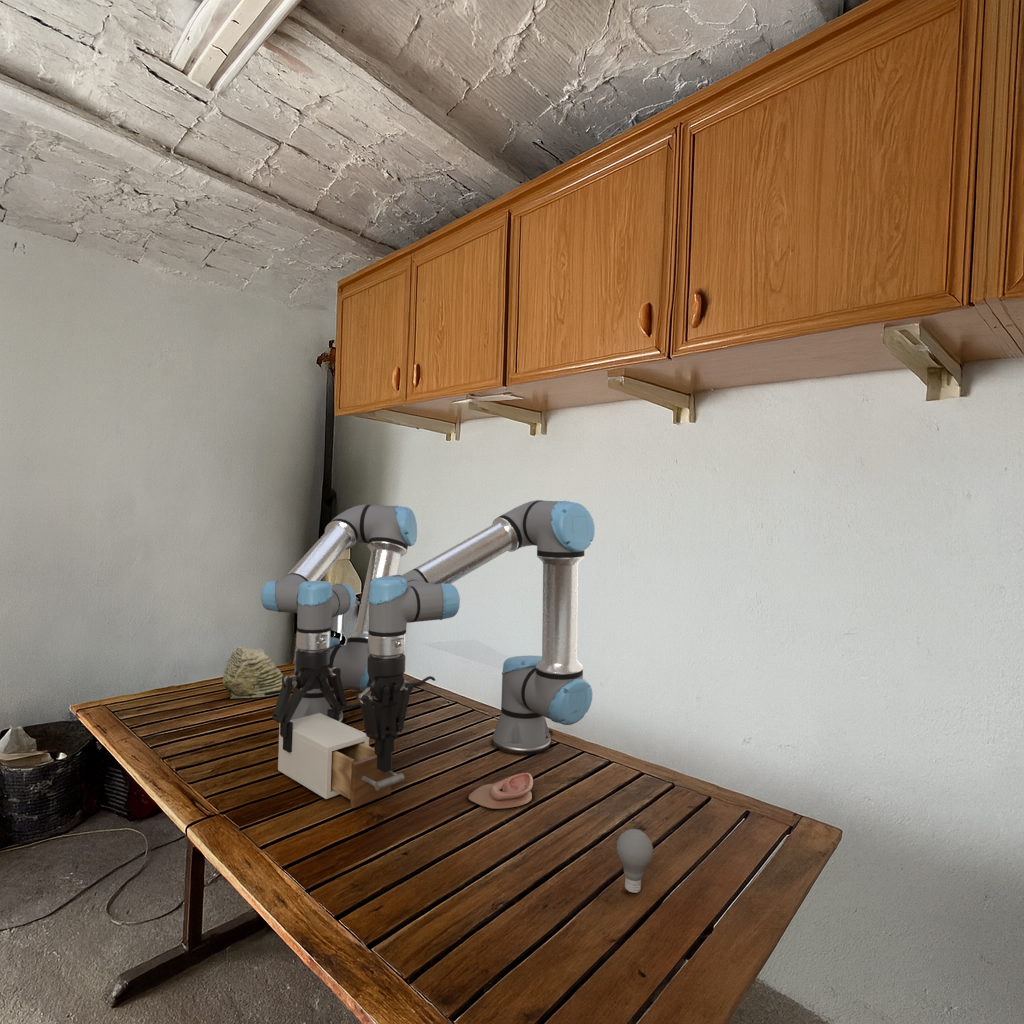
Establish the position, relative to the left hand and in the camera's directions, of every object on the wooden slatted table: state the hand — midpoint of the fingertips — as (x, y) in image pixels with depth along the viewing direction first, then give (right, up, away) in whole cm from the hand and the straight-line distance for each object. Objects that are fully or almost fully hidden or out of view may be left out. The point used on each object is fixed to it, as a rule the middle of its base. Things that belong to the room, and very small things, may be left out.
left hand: (309, 744), depth 146 cm
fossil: (-34, -4, +52) cm, 62 cm away
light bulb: (+67, -10, -41) cm, 79 cm away
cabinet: (+4, -6, -4) cm, 8 cm away
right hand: (+21, +1, -18) cm, 27 cm away
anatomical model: (+44, -8, -10) cm, 46 cm away
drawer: (+13, -5, -12) cm, 19 cm away
